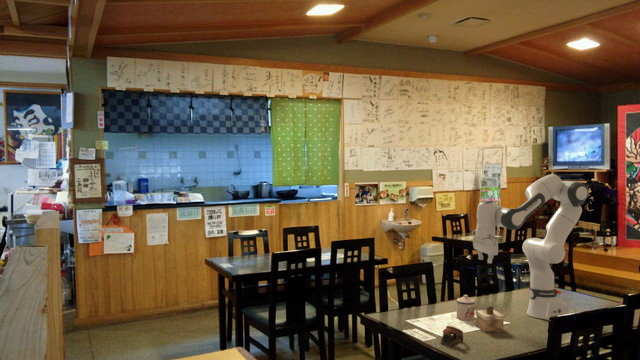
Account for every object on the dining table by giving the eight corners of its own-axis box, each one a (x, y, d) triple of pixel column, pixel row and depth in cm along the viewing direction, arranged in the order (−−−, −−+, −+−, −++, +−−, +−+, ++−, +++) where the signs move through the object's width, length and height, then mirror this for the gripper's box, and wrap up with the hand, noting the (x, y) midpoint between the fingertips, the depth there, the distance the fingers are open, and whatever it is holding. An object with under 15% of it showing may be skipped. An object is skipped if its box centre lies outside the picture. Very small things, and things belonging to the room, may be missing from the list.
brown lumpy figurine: (435, 342, 218) (440, 323, 221) (453, 350, 219) (459, 332, 222) (448, 344, 207) (454, 325, 209) (468, 353, 208) (474, 334, 211)
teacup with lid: (467, 322, 245) (467, 298, 244) (452, 317, 252) (452, 294, 252) (482, 318, 252) (482, 295, 251) (467, 313, 259) (467, 291, 259)
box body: (494, 325, 240) (494, 313, 239) (503, 332, 230) (504, 319, 230) (475, 326, 238) (476, 313, 238) (484, 332, 229) (485, 319, 229)
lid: (494, 313, 240) (494, 303, 239) (504, 319, 230) (504, 309, 230) (475, 313, 238) (475, 303, 238) (484, 319, 229) (484, 309, 229)
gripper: (502, 236, 238) (501, 265, 238) (482, 230, 258) (482, 257, 258) (489, 236, 237) (488, 265, 237) (470, 231, 257) (470, 257, 258)
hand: (485, 261), depth 248 cm, fingers open, 8 cm apart
